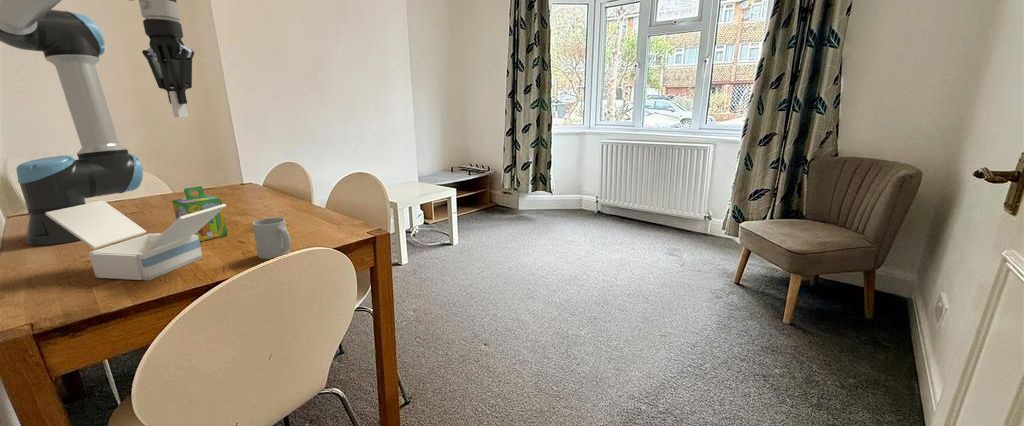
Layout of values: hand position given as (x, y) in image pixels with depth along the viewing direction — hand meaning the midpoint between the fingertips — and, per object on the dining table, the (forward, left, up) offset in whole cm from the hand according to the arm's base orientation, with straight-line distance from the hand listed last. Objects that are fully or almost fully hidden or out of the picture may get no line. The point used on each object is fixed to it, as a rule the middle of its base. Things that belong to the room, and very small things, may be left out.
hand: (181, 117), depth 112 cm
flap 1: (+7, -18, -28) cm, 34 cm away
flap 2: (+19, -12, -28) cm, 36 cm away
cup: (+29, +7, -35) cm, 46 cm away
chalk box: (-5, +1, -35) cm, 35 cm away
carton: (+13, -15, -34) cm, 40 cm away
